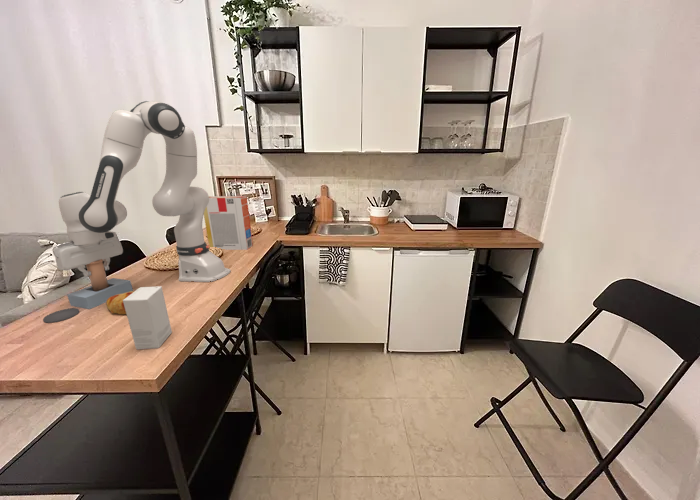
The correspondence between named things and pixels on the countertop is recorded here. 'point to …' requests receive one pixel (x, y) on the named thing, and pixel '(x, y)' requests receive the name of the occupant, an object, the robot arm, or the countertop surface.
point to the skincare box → (148, 317)
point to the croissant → (117, 303)
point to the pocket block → (99, 294)
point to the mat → (61, 315)
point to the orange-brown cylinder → (97, 275)
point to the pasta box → (228, 223)
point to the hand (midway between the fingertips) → (97, 273)
